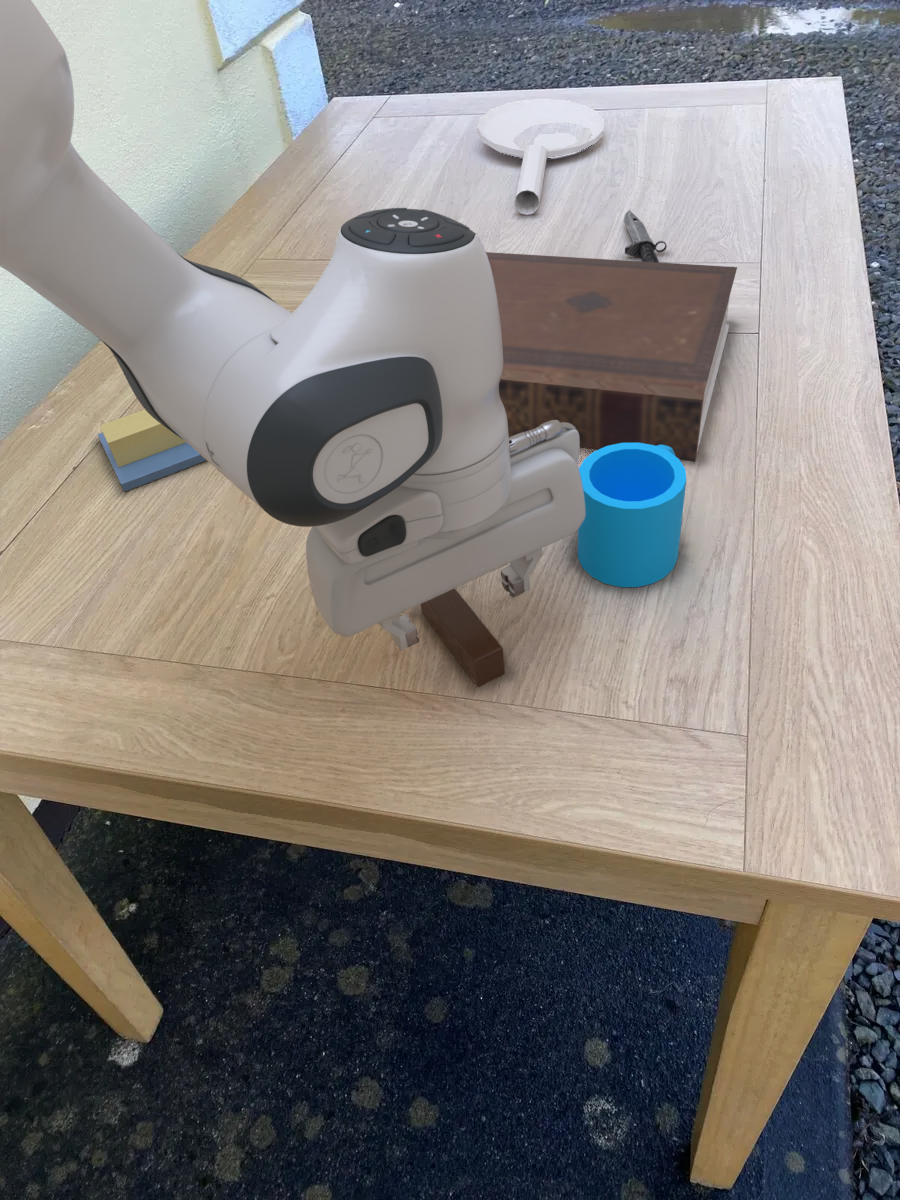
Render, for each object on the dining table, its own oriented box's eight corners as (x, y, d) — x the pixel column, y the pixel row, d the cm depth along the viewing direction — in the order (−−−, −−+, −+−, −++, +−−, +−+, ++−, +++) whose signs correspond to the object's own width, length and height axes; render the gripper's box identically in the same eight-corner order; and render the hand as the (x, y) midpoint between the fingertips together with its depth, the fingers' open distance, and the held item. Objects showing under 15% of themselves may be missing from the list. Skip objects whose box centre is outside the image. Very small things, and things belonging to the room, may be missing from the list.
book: (695, 461, 83) (702, 399, 78) (409, 426, 91) (400, 368, 86) (729, 325, 98) (737, 267, 94) (482, 305, 106) (478, 251, 102)
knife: (609, 204, 117) (648, 200, 117) (609, 220, 119) (647, 215, 118) (637, 273, 104) (681, 267, 104) (637, 289, 106) (680, 284, 106)
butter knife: (477, 687, 67) (474, 661, 65) (364, 537, 80) (358, 511, 78) (505, 674, 68) (503, 647, 65) (389, 527, 80) (384, 500, 78)
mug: (651, 600, 71) (658, 521, 65) (559, 567, 75) (558, 489, 69) (711, 511, 78) (723, 432, 72) (624, 484, 81) (628, 407, 76)
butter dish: (124, 492, 88) (109, 459, 85) (100, 441, 94) (86, 409, 91) (259, 441, 92) (249, 407, 89) (227, 396, 98) (217, 363, 95)
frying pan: (596, 226, 122) (599, 192, 119) (457, 221, 124) (456, 188, 121) (604, 119, 145) (606, 87, 141) (485, 116, 147) (485, 86, 143)
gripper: (552, 389, 63) (556, 537, 73) (278, 501, 57) (323, 644, 67) (605, 433, 59) (602, 583, 69) (316, 558, 53) (357, 701, 63)
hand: (462, 615), depth 68 cm, fingers open, 8 cm apart
